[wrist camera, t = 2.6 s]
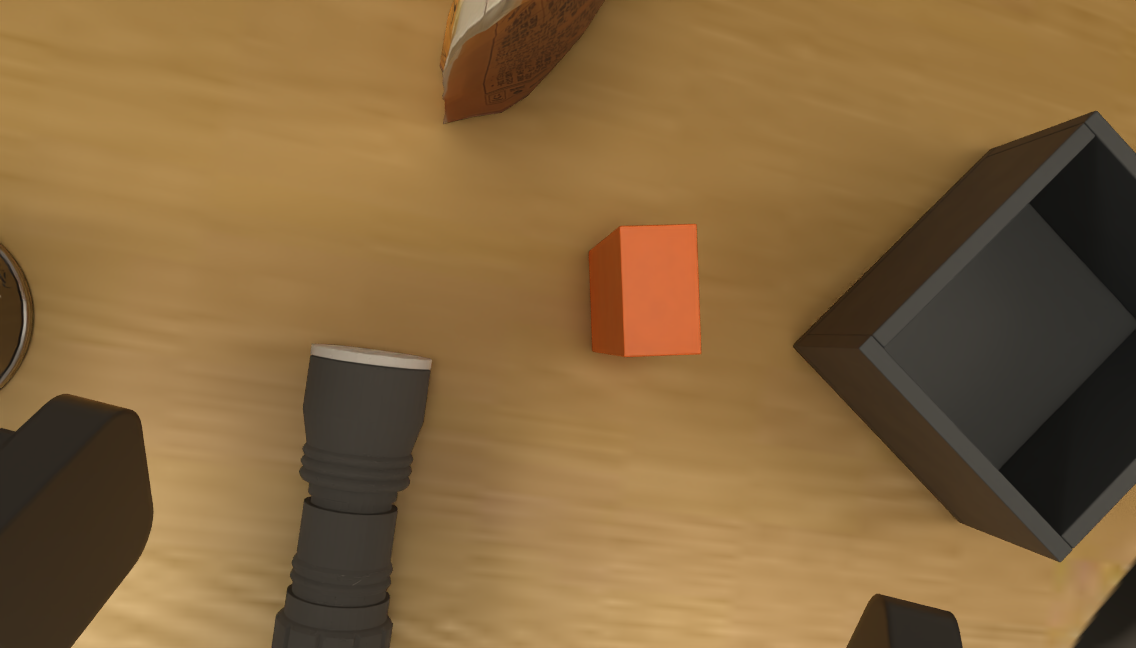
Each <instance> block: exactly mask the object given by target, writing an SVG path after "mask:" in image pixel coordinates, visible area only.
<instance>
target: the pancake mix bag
mask: <svg viewBox="0 0 1136 648" xmlns="http://www.w3.org/2000/svg"><path fill="white" fill-rule="evenodd" d="M603 2H604V0H454V1H453V4H452V7H451V9H450V12H449V15H448V20H447V26H446V32H445V38H444V43H443V49H442V55H441V62H440V68H441V70H442V71H443V86H444V93H443V95H442V96H443V100H444V101H445V115H444V121H443V124H445V123H449V122H453V121H457V120H461V119H465V118H469V117H475V116H482V115H489V114H495V113H501V112H503V111H505V110H506V109H508V108H509V107H511V106H512V105H514V104H516V103H517V102H519V101H520V100H522V99H523V98H525V97H526V96H528V95H529V94H530V93H531V92H532V90H533V89H534V88H535V87H536V86H537V85H538V84H539V83H540V82H541V81H542V80H543V79H544V78H545V76H546V75H547V74H548V73H549V72H550V71H551V70H552V69H553V68H554V67H555V66H556V64H557V63H558V62H559V61H560V60H561V59H562V58H563V56H564V55H565V54H566V53H567V52H568V51H569V50H570V48H571V47H572V46H573V45H574V44H575V43H576V42H577V40H578V39H579V38H580V37H581V35H582V34H583V33H584V31H585V30H586V29H587V27H588V25H589V24H590V22H591V21H592V19H593V18H594V16H595V14H596V13H597V11H598V10H599V8H600V7H601V5H602V3H603Z"/></svg>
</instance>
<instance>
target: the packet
mask: <svg viewBox="0 0 1136 648" xmlns="http://www.w3.org/2000/svg"><path fill="white" fill-rule="evenodd" d="M589 272H590V300H591V328H592V351H593V352H597V353H604V354H610V355H616V356H622V357H638V356H665V355H691V354H701V332H700V305H699V277H698V250H697V225H696V224H678V225H640V226H620V227H618V228H617V229H616V230H615V231H613V232H612V233H611V234H610V235H608V236H607V237H606V238H605V239H604V240H602V241H601V242H600V243H599V244H597V245H596V246H595V247H594V248H593V249H591V250H590V251H589Z"/></svg>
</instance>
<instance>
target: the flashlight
mask: <svg viewBox="0 0 1136 648" xmlns="http://www.w3.org/2000/svg"><path fill="white" fill-rule="evenodd" d="M311 354H312V355H311V356H310V362H309V369H308V376H307V383H306V390H305V397H304V404H303V413H304V422H305V431H306V440H307V442H306V443H305V444H304V446H303V448H302V449H303V452H304V453H305V454H304V455H303V456H302V458H301V463H302V465H303V466H302V467H301V469H300V471H299V473H300V476H301V477H302V479H303V480H305V481H307V482H309V489H308V493H309V494H310V495H311V496H310V497H307V498H306V499H304V505H303V512H302V519H301V526H300V533H299V540H298V547H297V553H296V554H295V556H294V557H293V560H292V565H293V569H292V571H291V573H290V577H291V579H292V581H293V583H292V584H291V585H289V587H288V588H287V594H286V601H285V607H284V608H283V609H282V610H280V611H279V612H278V613H277V615H276V620H275V627H274V634H273V641H272V648H390V641H391V634H392V627H393V623H392V622H391V619H390V618H389V616H388V615H387V613H388V606H389V599H390V595H389V593H388V592H387V591H386V590H387V588H388V587H389V586H390V584H391V579H390V574H391V573H392V571H393V568H392V563H391V554H392V547H393V539H394V532H395V525H396V518H397V510H398V509H397V507H396V506H394V505H393V504H392V503H394V502H395V501H396V498H397V492H398V491H402V490H404V489H406V488H407V487H408V485H409V484H410V480H409V477H408V476H409V475H410V474H411V472H412V471H411V467H410V464H411V463H412V461H413V457H412V455H411V452H412V449H413V447H414V444H415V442H416V439H417V437H418V434H419V432H420V429H421V427H422V424H423V421H424V414H425V407H426V400H427V392H428V385H429V378H430V370H429V369H431V364H432V359H430V358H425V357H420V356H415V355H409V354H403V353H396V352H389V351H382V350H374V349H367V348H359V347H350V346H340V345H330V344H312V347H311Z"/></svg>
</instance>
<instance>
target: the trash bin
mask: <svg viewBox="0 0 1136 648" xmlns="http://www.w3.org/2000/svg"><path fill="white" fill-rule="evenodd" d="M793 347H794V348H795V349H796V350H797V351H798V352H799V353H800V354H801V355H802V356H803V357H804V359H805V360H806V361H807V362H808V363H809V364H810V365H811V366H812V367H813V368H814V369H815V370H816V371H817V372H818V373H819V374H820V375H821V376H822V378H823V379H824V380H825V381H826V382H827V383H828V384H829V385H830V386H831V387H832V388H833V389H834V390H835V391H836V392H837V393H838V394H839V395H840V397H841V398H842V399H843V400H844V401H845V402H846V403H847V404H848V405H849V406H850V407H851V408H852V409H853V410H854V411H855V412H856V413H857V414H858V416H859V417H860V418H861V419H862V420H863V421H864V422H865V423H866V424H867V425H868V426H869V427H870V428H871V429H872V430H873V431H874V432H875V433H876V435H877V436H878V437H879V438H880V439H881V440H882V441H883V442H884V443H885V444H886V445H887V446H888V447H889V448H890V449H891V450H892V451H893V452H894V454H895V455H896V456H897V457H898V458H899V459H900V460H901V461H902V462H903V463H904V464H905V465H906V466H907V467H908V468H909V469H910V470H911V471H912V473H913V474H914V475H915V476H916V477H917V478H918V479H919V480H920V481H921V482H922V483H923V484H924V485H925V486H926V487H927V488H928V489H929V490H930V492H931V493H932V494H933V495H934V496H935V497H936V498H937V499H938V500H939V501H940V502H941V503H942V504H943V505H944V506H945V507H946V508H947V509H948V510H949V512H950V513H951V514H952V515H953V516H954V517H955V518H956V519H957V520H958V521H959V522H960V523H963V524H965V525H967V526H970V527H972V528H975V529H977V530H980V531H983V532H985V533H988V534H990V535H993V536H995V537H998V538H1000V539H1003V540H1005V541H1008V542H1010V543H1013V544H1015V545H1018V546H1020V547H1023V548H1025V549H1028V550H1030V551H1033V552H1035V553H1038V554H1040V555H1043V556H1045V557H1048V558H1051V559H1053V560H1056V561H1058V562H1061V561H1062V560H1063V559H1064V558H1065V557H1066V556H1067V555H1068V554H1069V553H1070V552H1071V551H1072V548H1075V546H1076V545H1077V544H1078V543H1079V542H1080V541H1081V540H1082V539H1083V538H1084V537H1085V536H1086V535H1087V534H1088V533H1089V532H1090V531H1091V530H1092V529H1093V528H1094V527H1095V526H1096V525H1097V523H1098V522H1099V521H1100V520H1101V519H1102V518H1103V517H1104V516H1105V515H1106V514H1107V513H1108V512H1109V511H1110V510H1111V509H1112V508H1113V507H1114V506H1115V505H1116V504H1117V503H1118V502H1119V500H1120V499H1121V498H1122V497H1123V496H1124V495H1125V494H1126V493H1127V492H1128V491H1129V490H1130V489H1131V488H1132V487H1133V486H1134V485H1135V484H1136V153H1135V152H1134V151H1133V150H1132V149H1131V148H1130V147H1129V145H1128V144H1127V143H1126V142H1125V141H1124V140H1123V139H1122V138H1121V137H1120V136H1119V134H1118V133H1117V132H1116V131H1115V130H1114V129H1113V128H1112V127H1111V126H1110V125H1109V123H1108V122H1107V121H1106V120H1105V119H1104V118H1103V117H1102V116H1101V115H1100V114H1099V112H1098V111H1094V112H1091V113H1088V114H1085V115H1083V116H1080V117H1077V118H1075V119H1072V120H1069V121H1066V122H1064V123H1061V124H1058V125H1056V126H1053V127H1050V128H1047V129H1045V130H1042V131H1039V132H1037V133H1034V134H1031V135H1028V136H1026V137H1023V138H1020V139H1017V140H1015V141H1012V142H1009V143H1007V144H1004V145H1001V146H998V147H995V148H993V149H990V150H989V151H988V152H987V153H986V154H985V155H984V156H983V157H982V158H981V159H980V160H979V161H978V162H977V163H976V164H975V165H974V166H973V167H972V168H971V169H970V170H969V171H968V172H967V173H966V174H965V175H964V176H963V177H962V178H961V179H960V180H959V181H958V182H957V183H956V184H955V185H954V186H953V187H952V188H951V189H950V190H949V191H948V192H947V193H946V194H945V195H944V196H943V197H942V198H941V199H940V200H939V201H938V202H937V203H936V204H935V205H934V206H933V207H932V208H931V209H930V210H929V211H928V212H927V213H926V214H925V215H924V216H923V217H922V218H921V219H920V220H919V221H918V222H917V223H916V224H915V225H914V226H913V227H912V228H911V229H910V230H909V231H908V232H907V233H906V234H905V235H904V236H903V237H902V238H901V239H900V240H899V241H898V242H897V243H896V244H895V245H894V246H893V247H892V248H891V249H890V250H889V251H888V252H887V253H886V254H885V255H884V256H883V257H882V258H881V259H880V260H879V261H878V262H877V263H876V264H875V265H874V266H873V267H872V268H871V269H870V270H869V271H868V272H866V273H865V274H864V275H863V276H862V277H861V278H860V279H859V280H858V281H857V282H856V283H855V284H854V285H853V286H852V287H851V288H850V289H849V290H848V291H847V292H846V293H845V294H844V295H843V296H842V297H841V298H840V299H839V300H838V301H837V302H836V303H835V304H834V305H833V306H832V307H831V308H830V309H829V310H828V311H827V312H826V313H825V314H824V315H823V316H822V317H821V318H820V319H819V320H818V321H817V322H816V323H815V324H814V325H813V326H812V327H811V328H810V329H809V330H808V331H807V332H806V333H805V334H804V335H803V336H802V337H801V338H800V339H799V340H798V341H797V342H796V343H795V344H794V345H793Z"/></svg>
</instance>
